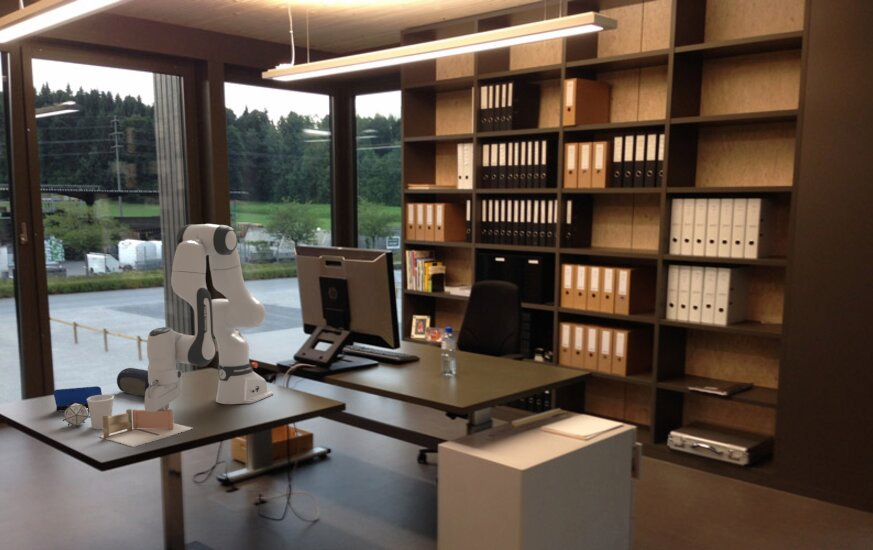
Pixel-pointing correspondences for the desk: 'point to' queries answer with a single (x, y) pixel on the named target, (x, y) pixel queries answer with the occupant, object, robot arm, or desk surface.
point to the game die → (76, 414)
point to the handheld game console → (74, 396)
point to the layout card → (144, 435)
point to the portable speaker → (133, 381)
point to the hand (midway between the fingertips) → (163, 417)
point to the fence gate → (153, 419)
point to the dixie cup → (99, 409)
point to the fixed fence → (117, 423)
